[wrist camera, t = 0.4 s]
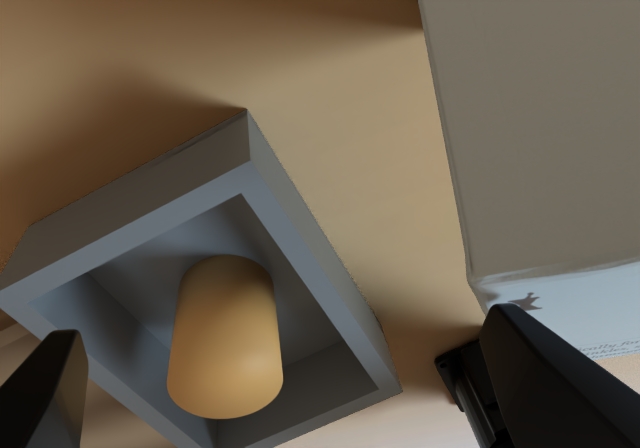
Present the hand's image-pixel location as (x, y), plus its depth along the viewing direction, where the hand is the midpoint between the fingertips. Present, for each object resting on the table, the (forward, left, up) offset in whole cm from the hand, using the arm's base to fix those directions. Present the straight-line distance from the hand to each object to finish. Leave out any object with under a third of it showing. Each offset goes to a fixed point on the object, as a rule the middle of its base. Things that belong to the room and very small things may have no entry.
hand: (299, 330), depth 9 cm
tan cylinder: (-9, +7, -14) cm, 19 cm away
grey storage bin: (-9, +7, -15) cm, 19 cm away
